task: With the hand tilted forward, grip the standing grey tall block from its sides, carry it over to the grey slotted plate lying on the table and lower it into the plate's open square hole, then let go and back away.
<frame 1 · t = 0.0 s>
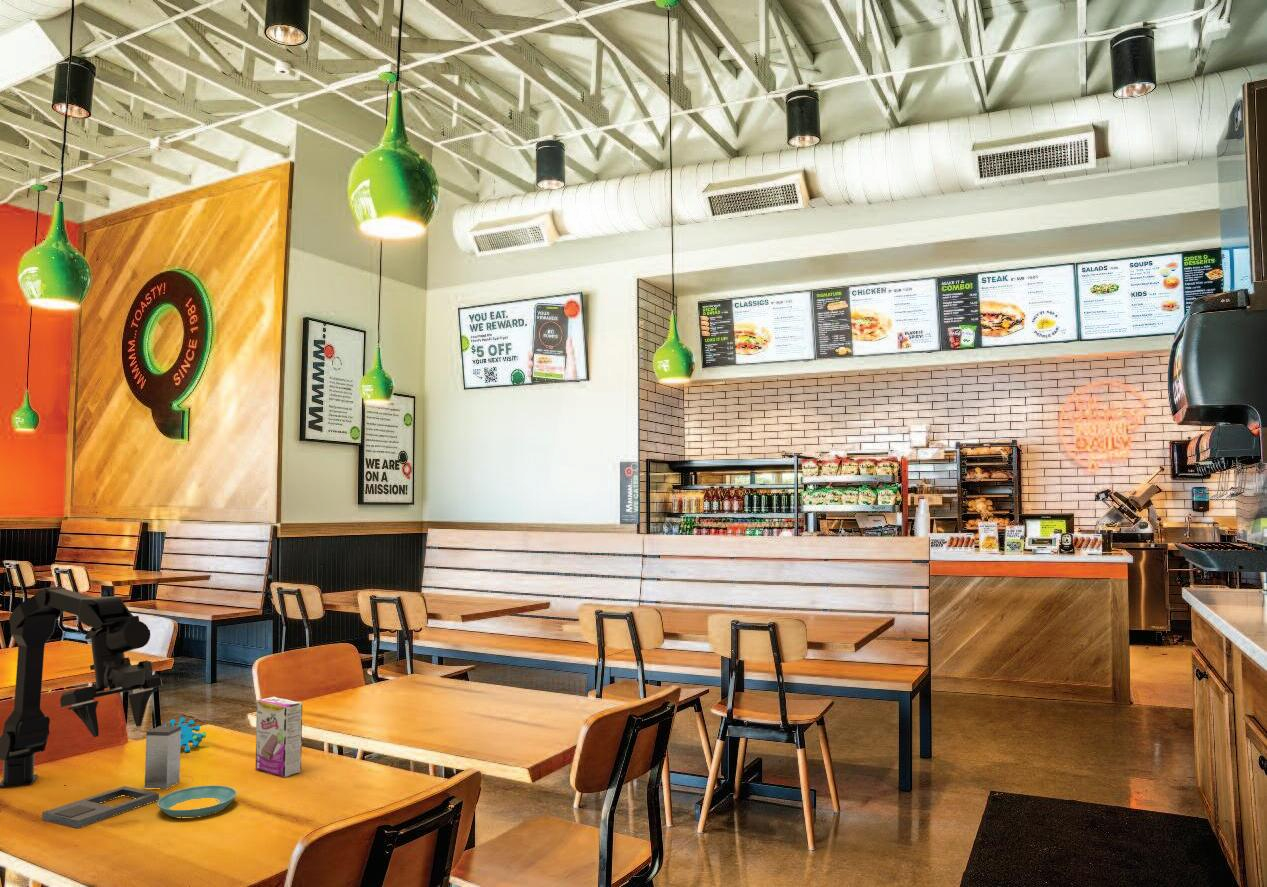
hand: (117, 731, 185), 15 cm above the table, tool pointing down, fingers open, 9 cm apart
gear: (181, 751, 225), on the table
grey slotted plate: (117, 804, 185), on the table
candy bar box: (277, 772, 208), on the table
saucer: (197, 811, 183), on the table
grey tall block: (162, 785, 197), on the table
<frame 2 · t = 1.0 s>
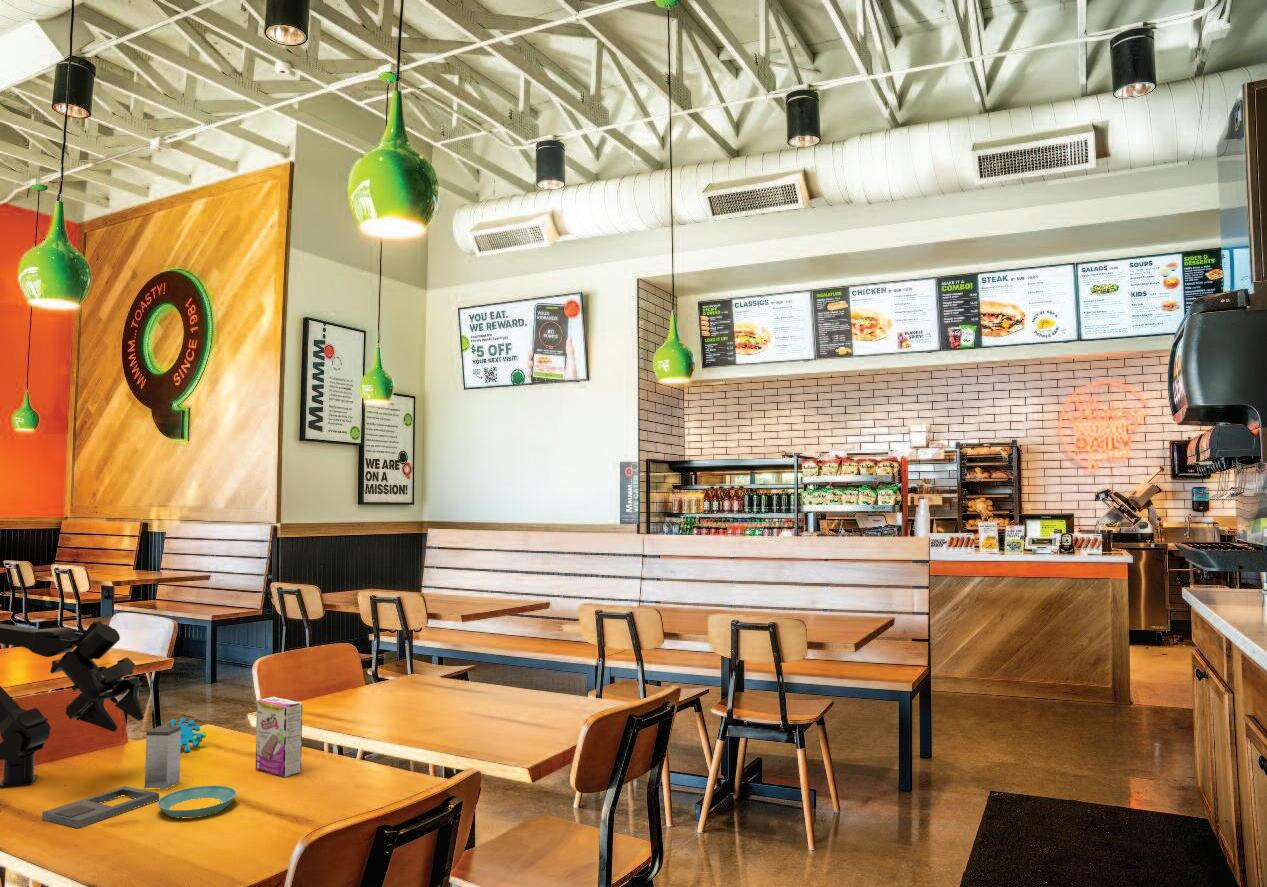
hand: (129, 724, 199), 13 cm above the table, tool tilted 45°, fingers open, 9 cm apart
nothing on the table moved.
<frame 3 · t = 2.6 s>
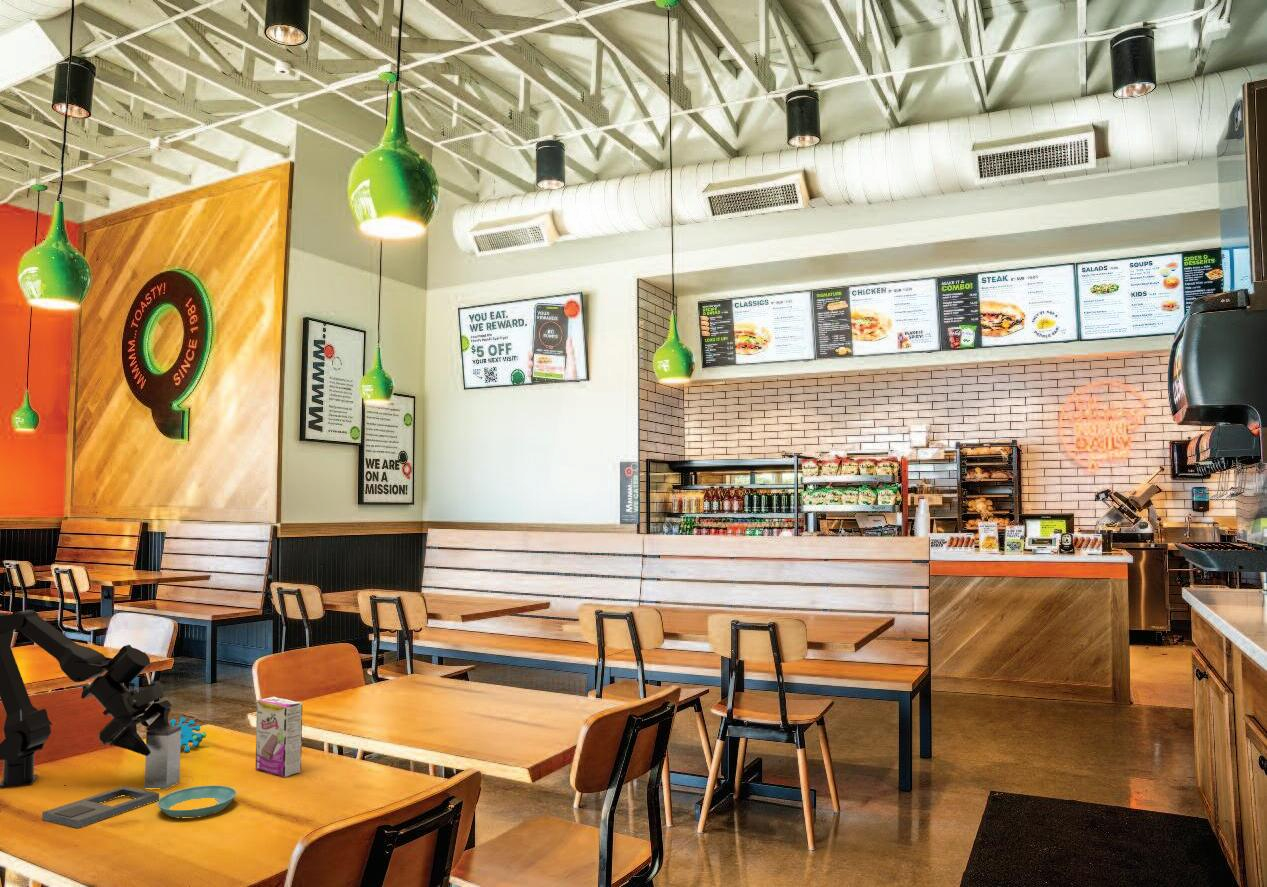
hand: (161, 748, 198), 8 cm above the table, tool tilted 45°, fingers open, 9 cm apart
nothing on the table moved.
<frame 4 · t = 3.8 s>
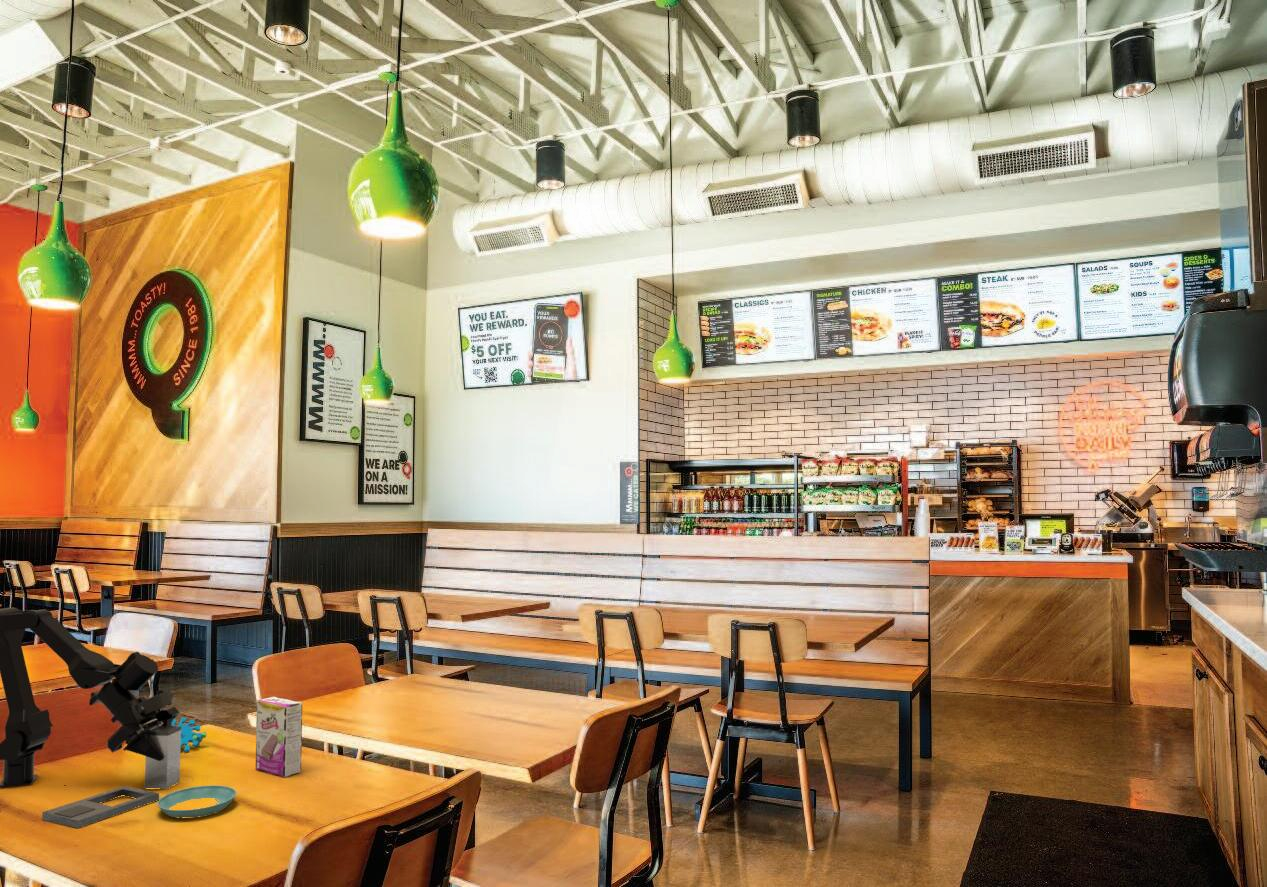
hand: (169, 755, 198), 7 cm above the table, tool tilted 45°, fingers closed on grey tall block, 5 cm apart
grey tall block: (162, 785, 197), on the table, touching gripper
everything else where it was.
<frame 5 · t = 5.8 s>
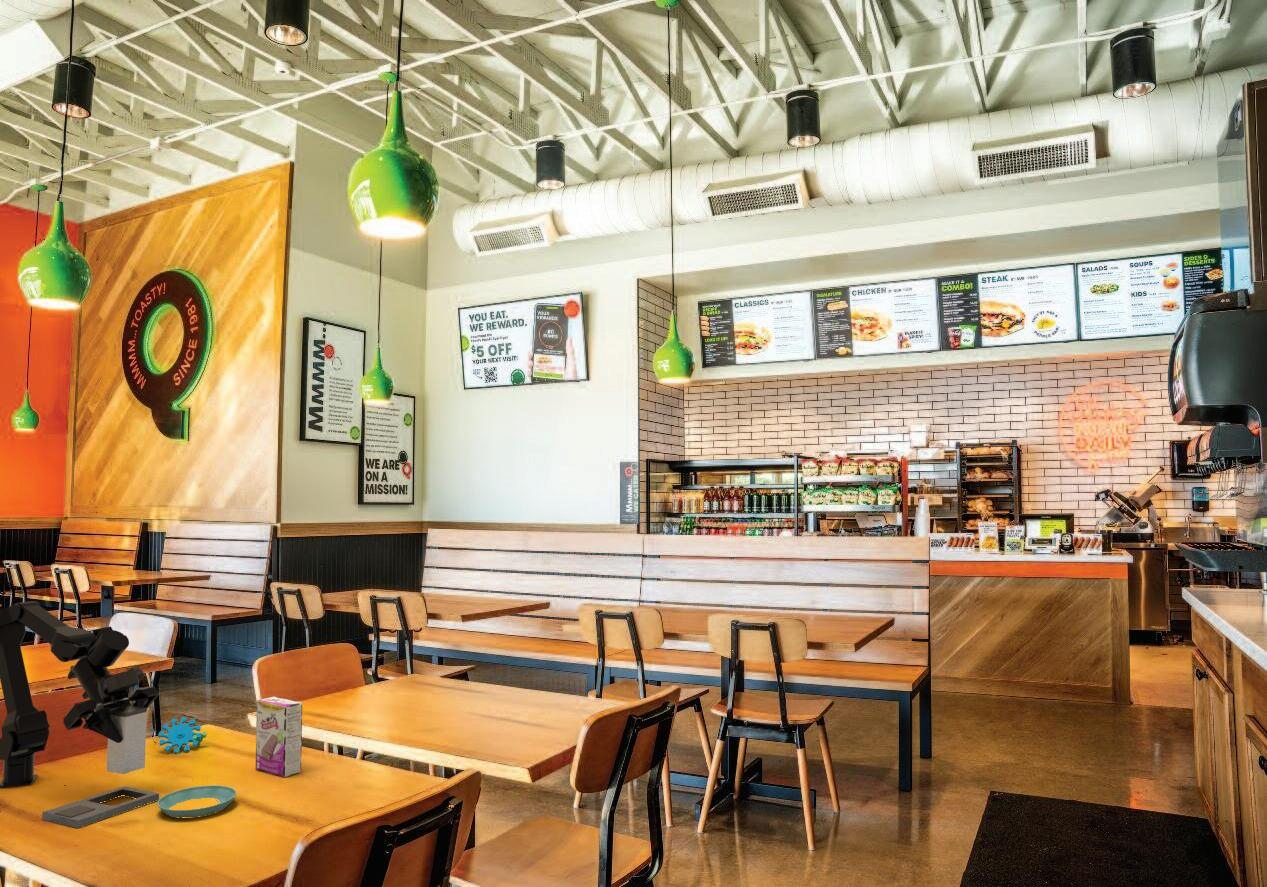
hand: (131, 738, 187), 13 cm above the table, tool tilted 45°, fingers closed on grey tall block, 5 cm apart
grey tall block: (125, 769, 187), point 7 cm above the table, touching gripper
everything else where it was.
when the fingers open (8 cm above the table, at t = 7.7 s): grey tall block drops 1 cm, resting in grey slotted plate.
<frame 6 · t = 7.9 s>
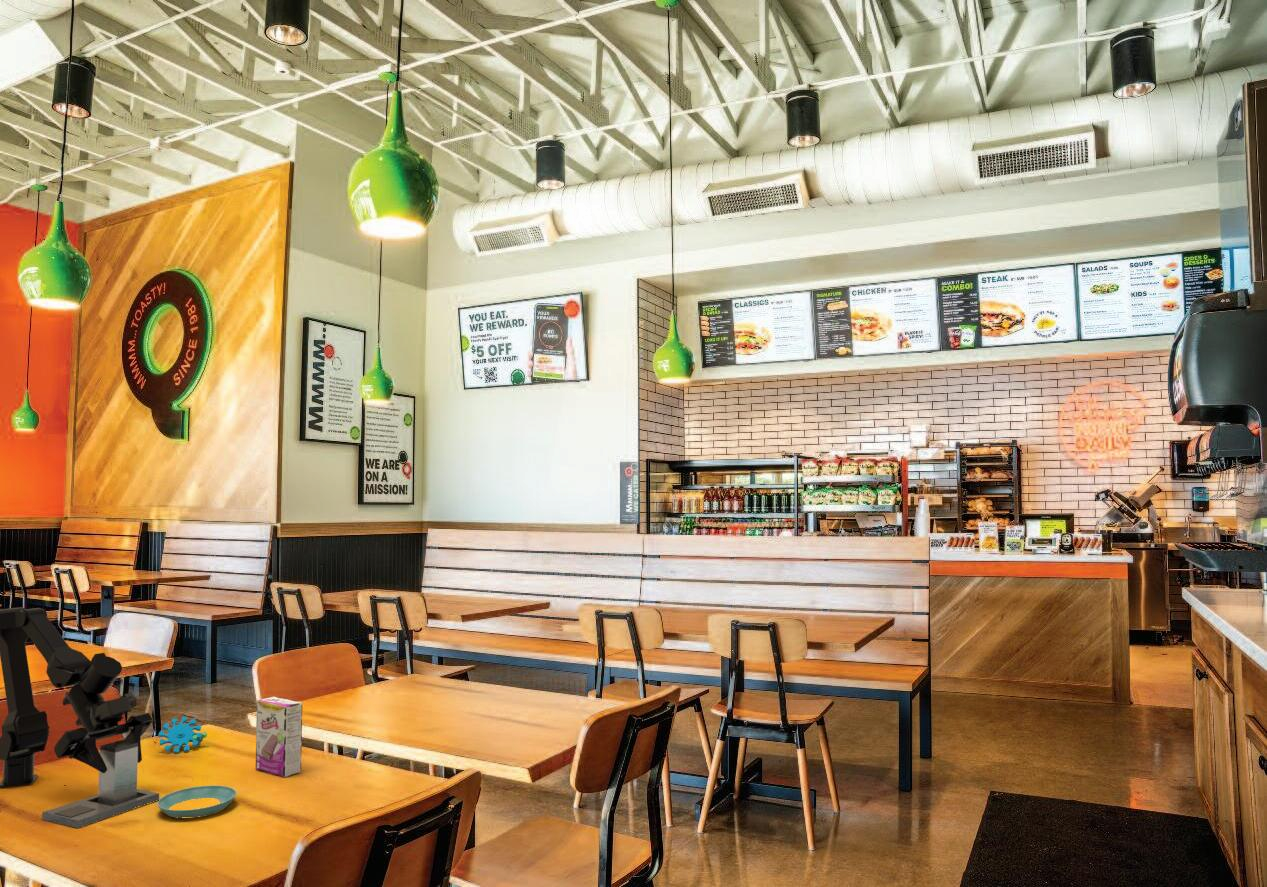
hand: (123, 766, 185), 8 cm above the table, tool tilted 45°, fingers open, 7 cm apart
grey tall block: (117, 804, 185), resting in grey slotted plate
everything else where it was.
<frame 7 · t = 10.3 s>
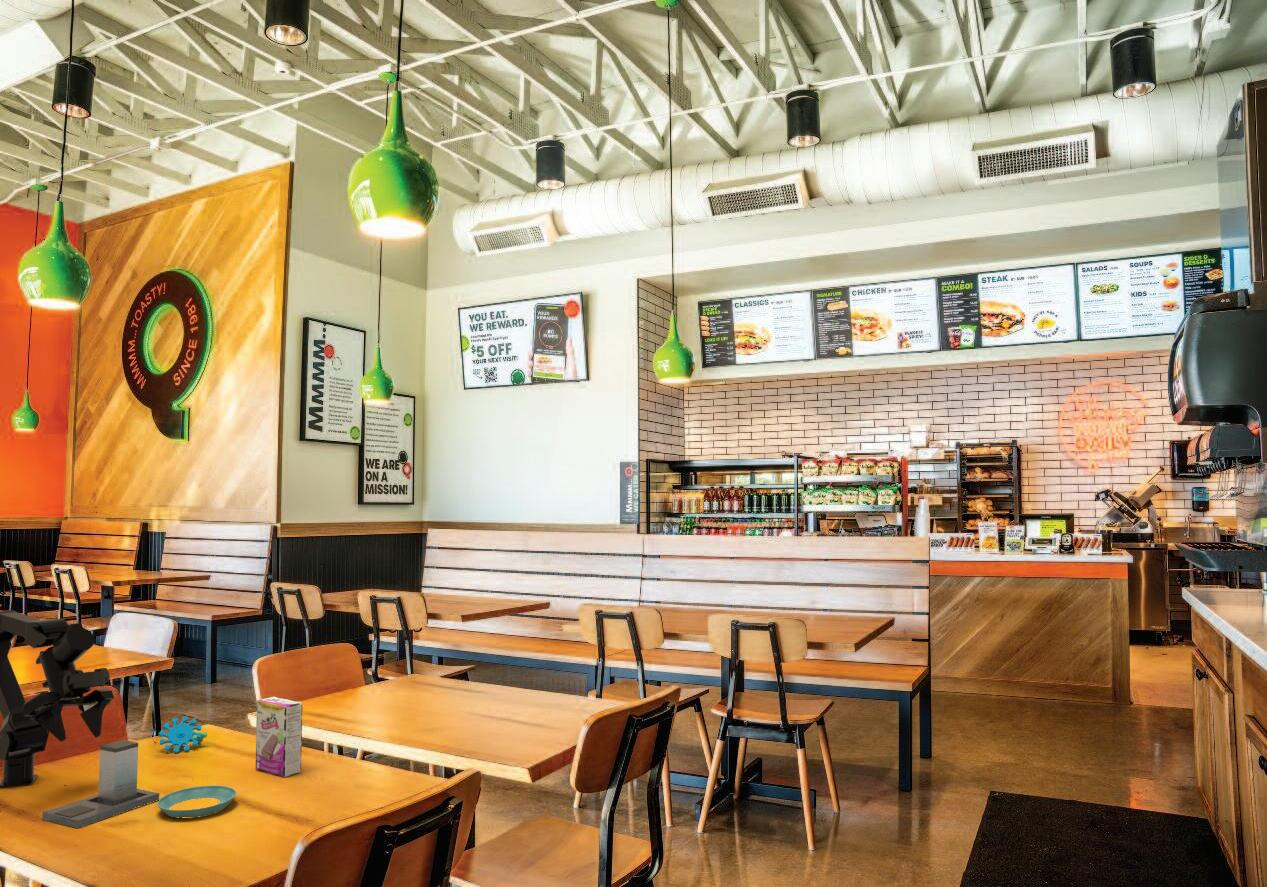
hand: (81, 738, 189), 13 cm above the table, tool tilted 35°, fingers open, 9 cm apart
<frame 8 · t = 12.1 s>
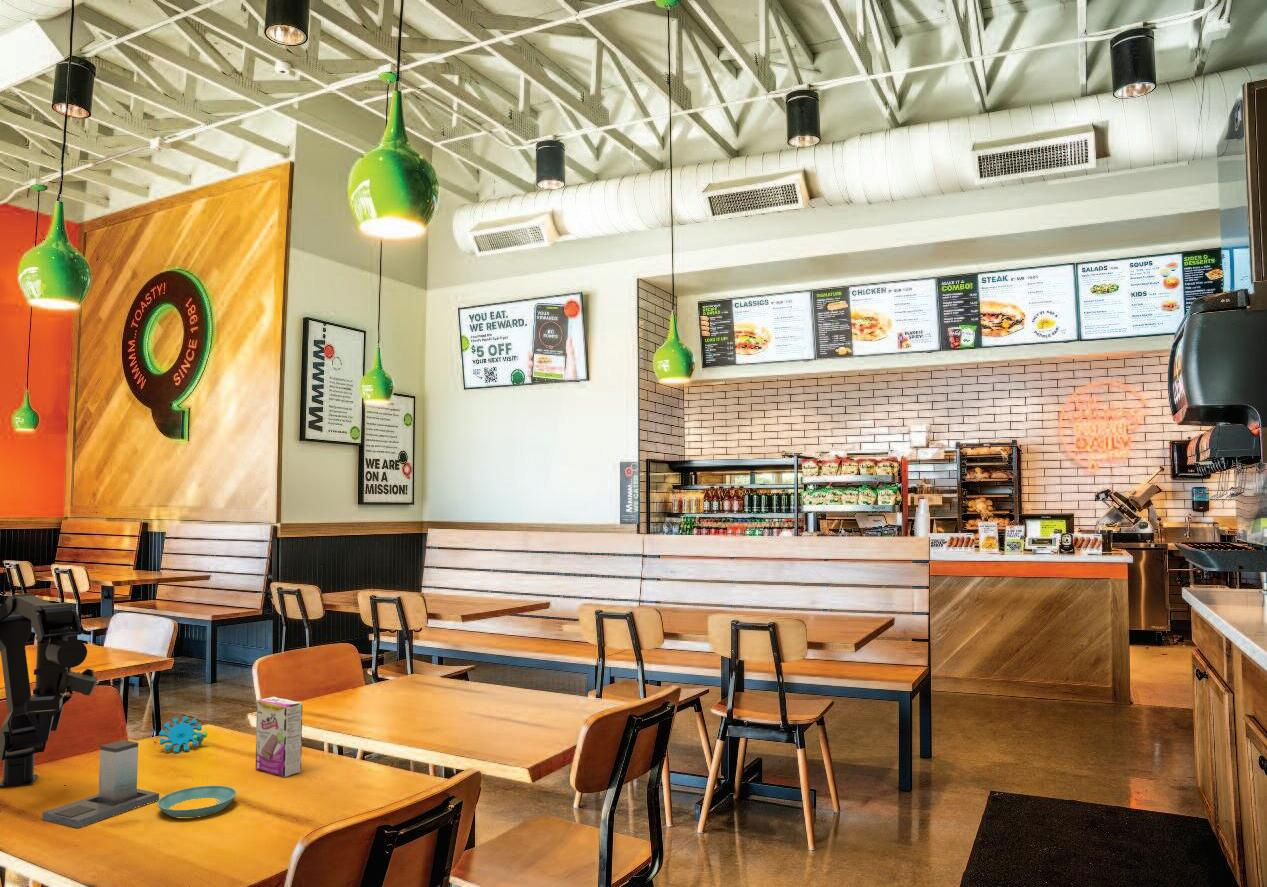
hand: (49, 735, 190), 13 cm above the table, tool pointing down, fingers open, 9 cm apart
at the end: grey tall block 0.0 cm off-centre on the grey slotted plate, point 0.0 cm above the grey slotted plate's base; grey tall block tilted 0°; the gripper is holding nothing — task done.
